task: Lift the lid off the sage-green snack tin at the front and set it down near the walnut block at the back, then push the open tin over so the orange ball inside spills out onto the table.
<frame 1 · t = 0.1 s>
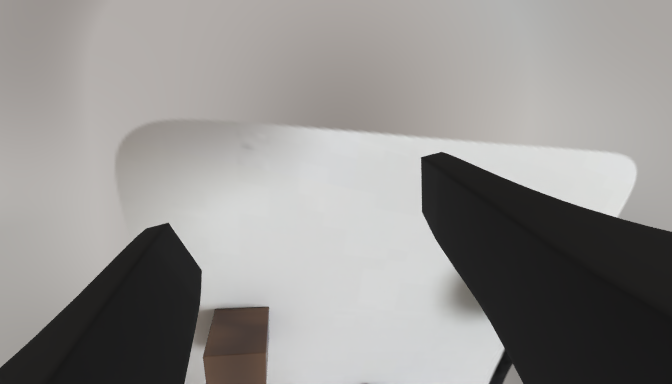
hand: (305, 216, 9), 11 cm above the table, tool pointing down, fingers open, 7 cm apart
block: (243, 326, 25), on the table
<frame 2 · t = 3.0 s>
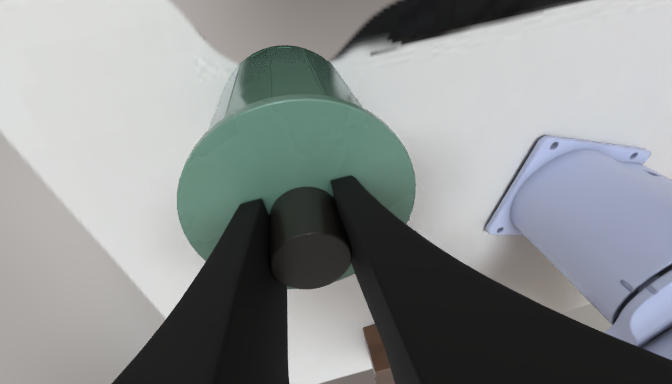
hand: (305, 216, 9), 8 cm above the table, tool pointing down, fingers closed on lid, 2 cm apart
tin: (288, 112, 16), on the table, touching ball, lid
lid: (312, 263, 7), point 10 cm above the table, touching gripper, tin
block: (385, 332, 30), on the table
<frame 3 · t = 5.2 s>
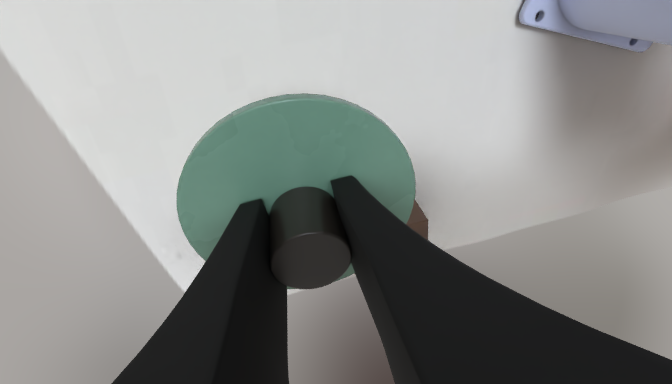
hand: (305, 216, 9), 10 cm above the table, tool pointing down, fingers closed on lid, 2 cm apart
lid: (312, 263, 7), point 12 cm above the table, touching gripper
block: (380, 211, 23), on the table
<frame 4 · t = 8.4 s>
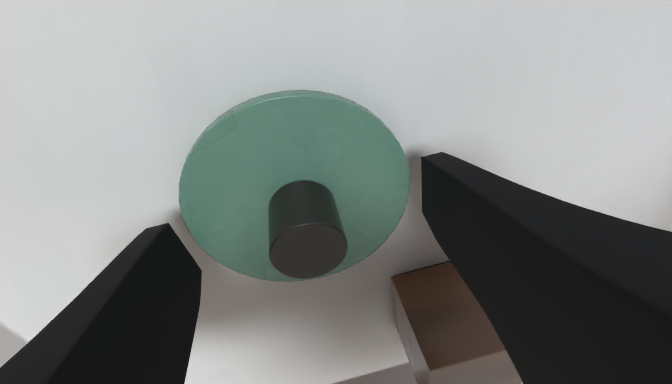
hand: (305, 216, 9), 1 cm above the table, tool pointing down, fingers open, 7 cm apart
lid: (309, 253, 8), point 3 cm above the table
block: (433, 291, 15), on the table
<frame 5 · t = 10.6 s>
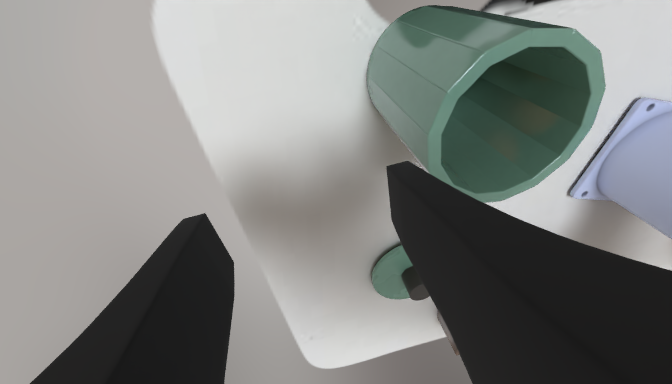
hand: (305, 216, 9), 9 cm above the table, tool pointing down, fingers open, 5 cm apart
tin: (421, 71, 17), on the table, touching ball
lid: (422, 292, 24), point 3 cm above the table
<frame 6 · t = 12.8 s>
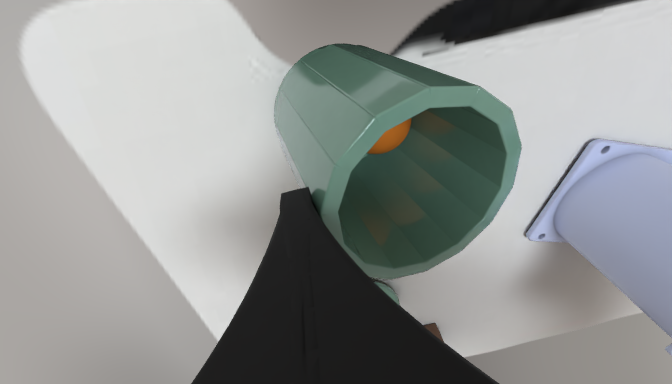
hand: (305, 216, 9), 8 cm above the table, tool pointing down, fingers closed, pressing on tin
ball: (376, 119, 13), point 2 cm above the table, tilted 54°, touching tin
tin: (338, 113, 15), on the table, tilted 11°, touching ball, gripper
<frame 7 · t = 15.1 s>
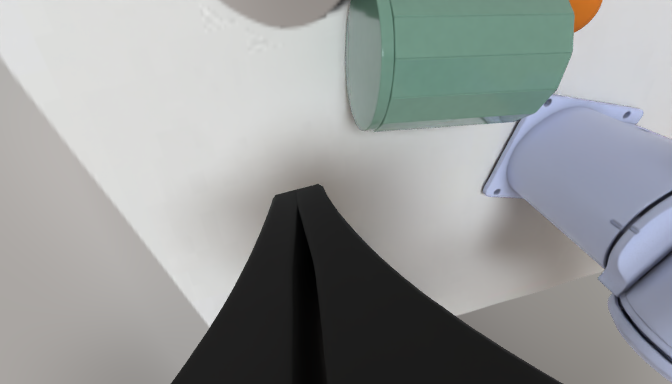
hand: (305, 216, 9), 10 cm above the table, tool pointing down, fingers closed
ball: (564, 4, 16), point 1 cm above the table, tilted 58°
tin: (359, 60, 14), point 3 cm above the table, tilted 90°
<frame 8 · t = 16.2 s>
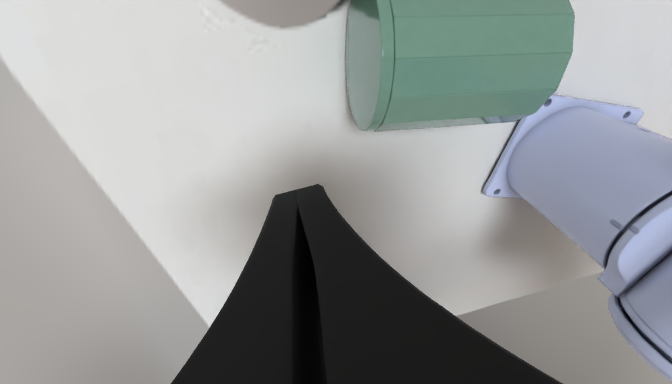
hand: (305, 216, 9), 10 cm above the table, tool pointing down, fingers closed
tin: (359, 60, 14), point 3 cm above the table, tilted 90°
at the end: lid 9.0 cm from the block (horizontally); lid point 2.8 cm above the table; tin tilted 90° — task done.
